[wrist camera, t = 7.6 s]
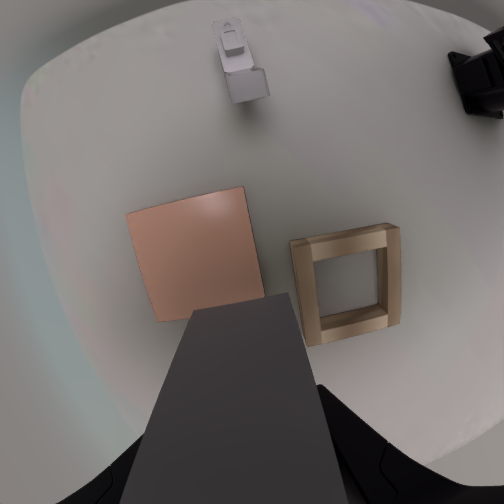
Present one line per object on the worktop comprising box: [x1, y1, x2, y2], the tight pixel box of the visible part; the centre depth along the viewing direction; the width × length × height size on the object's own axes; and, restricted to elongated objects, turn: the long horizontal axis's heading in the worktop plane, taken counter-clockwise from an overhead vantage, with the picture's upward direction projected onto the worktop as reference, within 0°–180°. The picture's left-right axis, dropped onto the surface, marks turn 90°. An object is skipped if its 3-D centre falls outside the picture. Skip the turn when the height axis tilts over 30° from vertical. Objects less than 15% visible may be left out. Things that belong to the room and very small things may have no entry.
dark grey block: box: [119, 293, 348, 504], centre depth 7 cm, size 4×4×10 cm
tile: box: [126, 186, 265, 322], centre depth 20 cm, size 9×9×1 cm
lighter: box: [212, 17, 270, 104], centre depth 13 cm, size 7×2×8 cm, turn 14°
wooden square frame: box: [289, 223, 401, 347], centre depth 20 cm, size 8×8×2 cm
